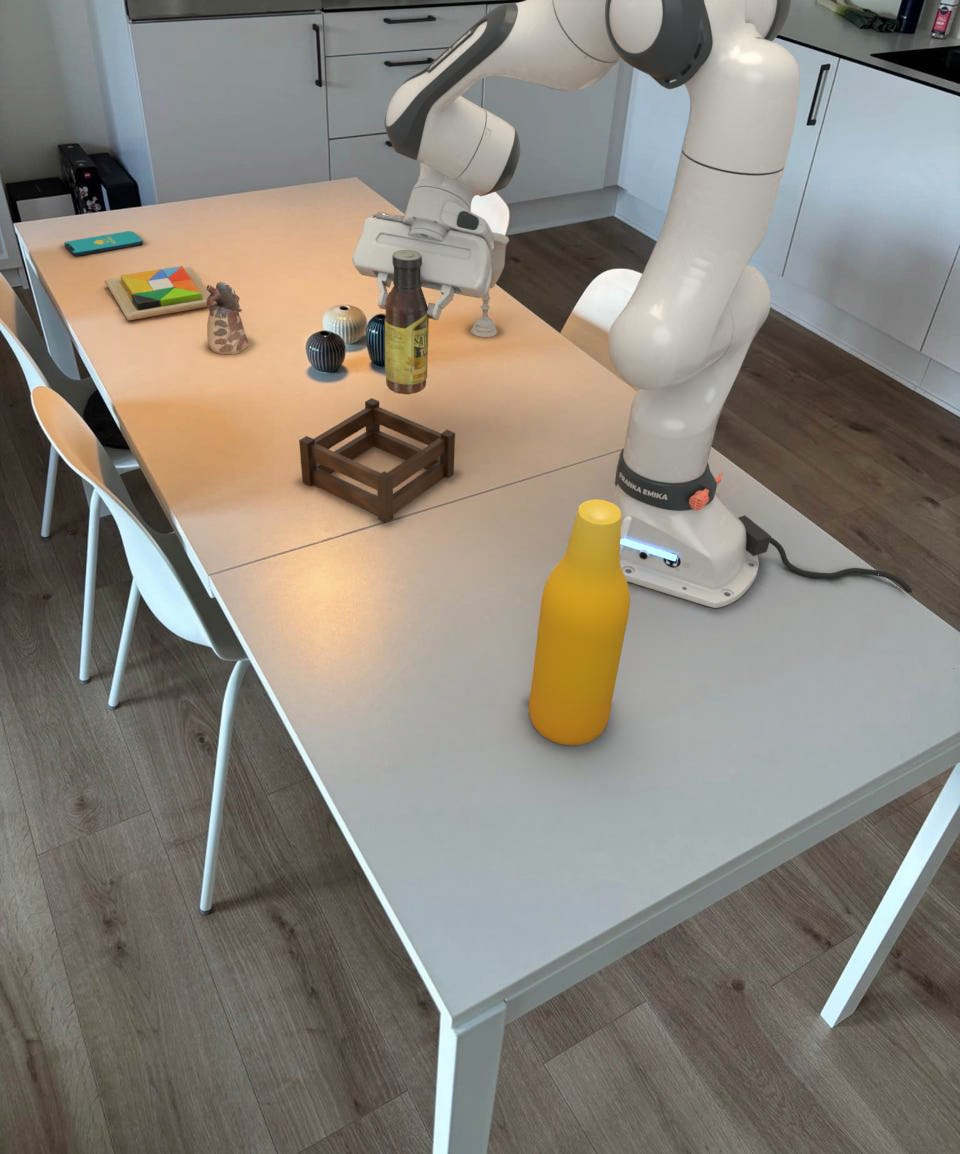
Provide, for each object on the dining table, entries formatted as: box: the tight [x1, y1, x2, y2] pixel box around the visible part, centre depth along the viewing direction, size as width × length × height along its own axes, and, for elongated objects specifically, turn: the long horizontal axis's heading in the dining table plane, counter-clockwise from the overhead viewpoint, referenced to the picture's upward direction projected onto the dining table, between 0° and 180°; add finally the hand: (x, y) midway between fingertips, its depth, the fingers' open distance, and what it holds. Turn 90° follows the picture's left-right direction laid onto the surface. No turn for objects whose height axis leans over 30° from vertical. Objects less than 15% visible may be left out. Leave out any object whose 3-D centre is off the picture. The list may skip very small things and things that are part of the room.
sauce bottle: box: [384, 250, 430, 395], centre depth 139 cm, size 6×6×20 cm
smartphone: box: [64, 230, 144, 257], centre depth 212 cm, size 7×1×15 cm
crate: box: [298, 397, 456, 524], centre depth 145 cm, size 16×16×7 cm
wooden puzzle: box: [104, 265, 217, 321], centre depth 192 cm, size 18×19×4 cm
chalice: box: [470, 231, 510, 338], centre depth 183 cm, size 7×7×18 cm
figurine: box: [205, 281, 250, 355], centre depth 175 cm, size 7×7×12 cm
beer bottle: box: [528, 498, 631, 746], centre depth 102 cm, size 9×9×29 cm
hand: (407, 313), depth 138 cm, fingers closed on sauce bottle, 6 cm apart
